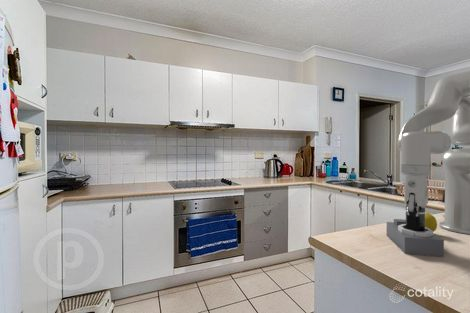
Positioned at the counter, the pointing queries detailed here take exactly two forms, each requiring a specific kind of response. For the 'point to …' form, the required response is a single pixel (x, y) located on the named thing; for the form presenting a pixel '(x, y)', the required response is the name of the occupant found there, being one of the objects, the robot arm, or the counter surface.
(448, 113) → the robot arm
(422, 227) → the lens
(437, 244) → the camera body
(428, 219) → the lemon
